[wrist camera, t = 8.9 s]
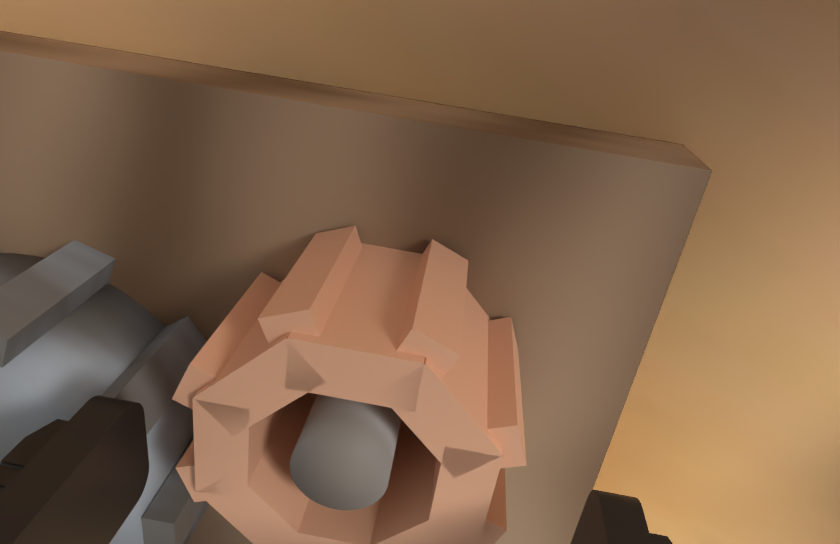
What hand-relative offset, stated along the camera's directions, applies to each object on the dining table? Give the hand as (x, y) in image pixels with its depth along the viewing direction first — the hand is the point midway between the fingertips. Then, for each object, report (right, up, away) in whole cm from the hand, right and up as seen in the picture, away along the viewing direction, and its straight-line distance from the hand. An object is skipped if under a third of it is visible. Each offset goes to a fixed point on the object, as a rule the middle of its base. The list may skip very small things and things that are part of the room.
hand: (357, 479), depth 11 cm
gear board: (-5, +2, +6) cm, 8 cm away
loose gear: (0, +2, +4) cm, 4 cm away
